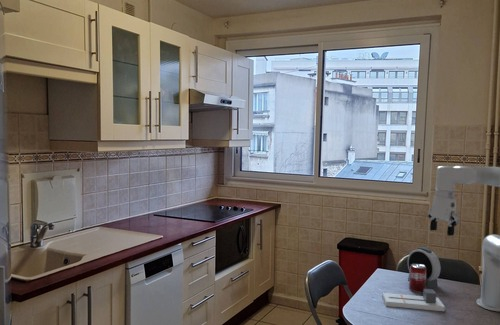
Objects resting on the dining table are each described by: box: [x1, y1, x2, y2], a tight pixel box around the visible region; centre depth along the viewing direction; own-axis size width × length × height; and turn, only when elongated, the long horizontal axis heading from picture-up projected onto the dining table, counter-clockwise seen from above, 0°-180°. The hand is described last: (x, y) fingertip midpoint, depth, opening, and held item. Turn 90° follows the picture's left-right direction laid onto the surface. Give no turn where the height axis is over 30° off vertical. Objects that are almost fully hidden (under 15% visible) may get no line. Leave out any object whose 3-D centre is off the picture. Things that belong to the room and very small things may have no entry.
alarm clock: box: [406, 246, 442, 289], centre depth 208 cm, size 16×10×18 cm, turn 28°
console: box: [381, 292, 446, 312], centre depth 182 cm, size 24×10×2 cm, turn 80°
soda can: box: [408, 264, 427, 294], centre depth 199 cm, size 7×7×12 cm
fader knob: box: [422, 288, 437, 303], centre depth 181 cm, size 4×5×4 cm
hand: (441, 232), depth 183 cm, fingers open, 9 cm apart
